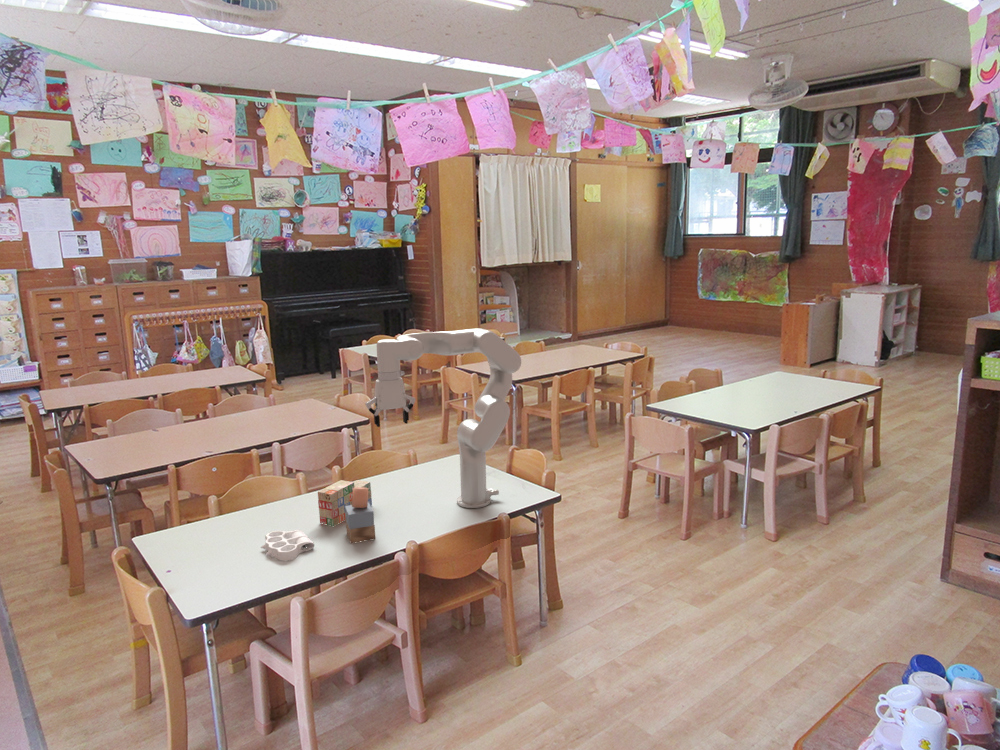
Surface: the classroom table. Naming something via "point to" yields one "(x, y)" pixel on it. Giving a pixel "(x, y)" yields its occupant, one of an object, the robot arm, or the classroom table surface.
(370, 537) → the tower base
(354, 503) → the terracotta cylinder
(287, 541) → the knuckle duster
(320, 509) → the stack of blocks
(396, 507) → the classroom table surface
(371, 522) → the tower top
